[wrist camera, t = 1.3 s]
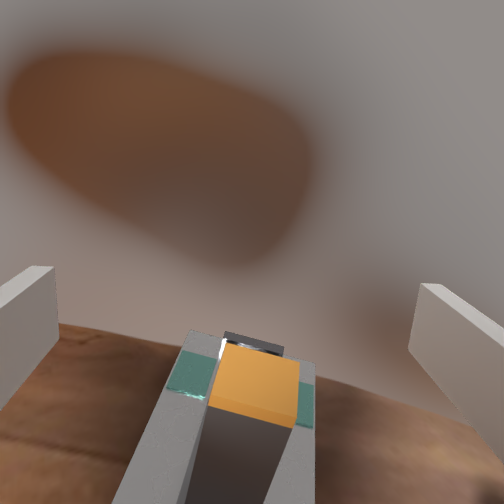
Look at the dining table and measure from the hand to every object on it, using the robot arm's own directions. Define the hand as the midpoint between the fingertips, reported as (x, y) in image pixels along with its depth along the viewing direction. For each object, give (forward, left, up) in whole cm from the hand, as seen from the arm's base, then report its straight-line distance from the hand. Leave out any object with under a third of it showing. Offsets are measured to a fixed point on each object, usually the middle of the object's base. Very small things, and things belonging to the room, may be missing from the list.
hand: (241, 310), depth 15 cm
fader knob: (-3, +3, -20) cm, 20 cm away
